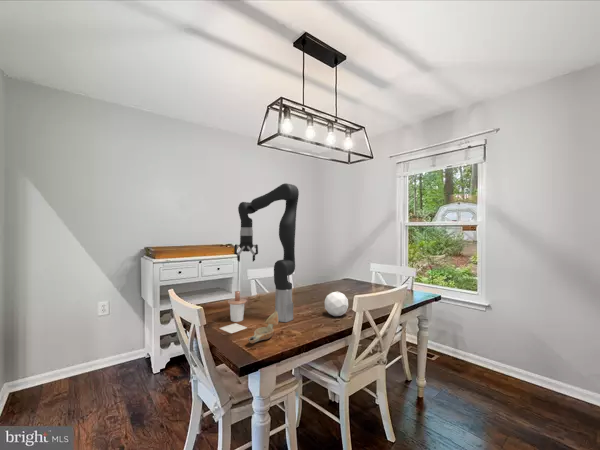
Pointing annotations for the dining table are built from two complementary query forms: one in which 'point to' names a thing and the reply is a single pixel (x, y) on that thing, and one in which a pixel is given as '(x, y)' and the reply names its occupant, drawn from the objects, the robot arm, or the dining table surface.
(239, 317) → the white cup
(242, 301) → the lid
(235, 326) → the mat
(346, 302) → the geodesic sphere
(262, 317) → the dining table surface
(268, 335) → the oil lamp
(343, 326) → the dining table surface
